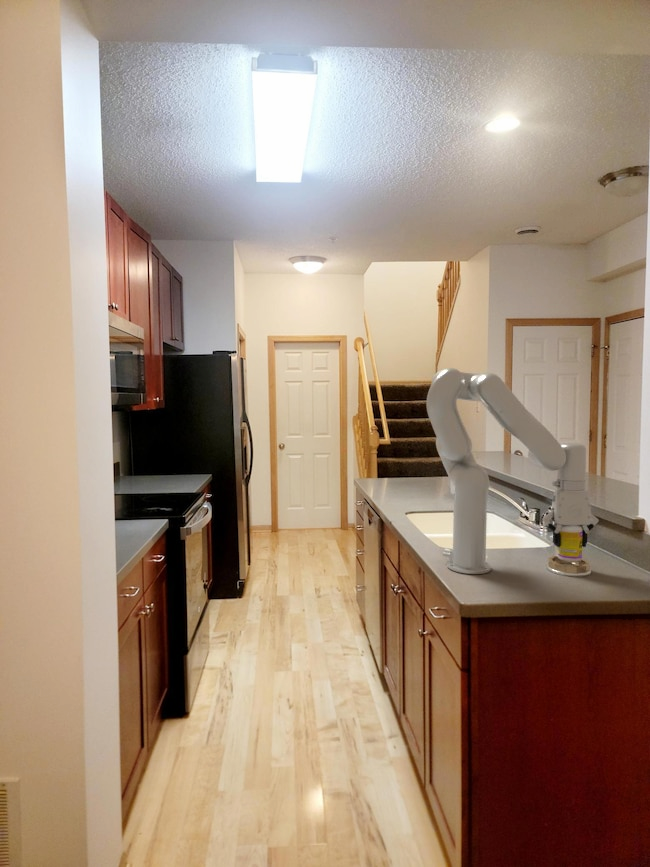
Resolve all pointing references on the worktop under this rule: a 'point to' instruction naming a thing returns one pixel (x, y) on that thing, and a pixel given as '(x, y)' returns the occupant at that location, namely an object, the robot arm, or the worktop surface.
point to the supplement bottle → (570, 543)
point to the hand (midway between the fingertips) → (569, 545)
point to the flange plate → (568, 567)
